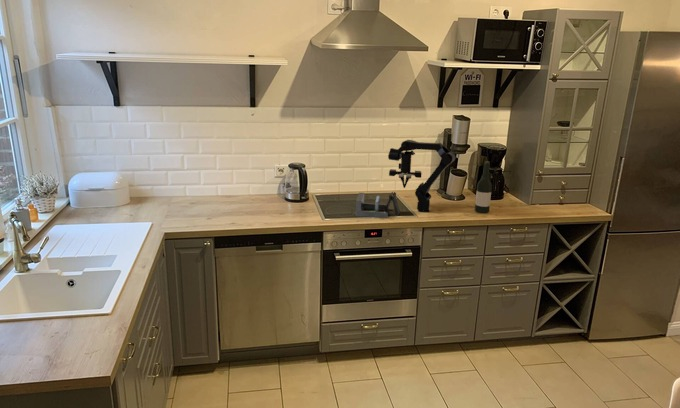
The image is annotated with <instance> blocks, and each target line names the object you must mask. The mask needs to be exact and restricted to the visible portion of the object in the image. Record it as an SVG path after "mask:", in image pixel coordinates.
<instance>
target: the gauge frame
mask: <svg viewBox="0 0 680 408" xmlns="http://www.w3.org/2000/svg"><path fill="white" fill-rule="evenodd" d="M386 205H387V204H384V203H379V211H376V213H375V203H371V202H365V193H364V192H359V193H358V194H357V197H356V200H355V212H354V213H355V217H366V218H379V219H388V217H389V215H388V212H384V210H385V207H386ZM364 209H367V210H364ZM368 209H369V210H368ZM388 211H390V208H389V209H388Z"/></svg>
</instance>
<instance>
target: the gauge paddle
mask: <svg viewBox="0 0 680 408" xmlns="http://www.w3.org/2000/svg"><path fill="white" fill-rule="evenodd" d="M375 198H376V199H375V203H374V204H375V209H374V211H375V213H376V211H378V212H380V210H379V204H380V195H377V196H376V197H375Z"/></svg>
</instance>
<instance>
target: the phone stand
mask: <svg viewBox="0 0 680 408" xmlns="http://www.w3.org/2000/svg"><path fill="white" fill-rule="evenodd" d="M391 202H392V203H391ZM391 204H392V205H393V208H394V210H393V211H392V210H390V206H391ZM388 209H389V210H388ZM383 212H388V216H399V215H400V214H401V211H400V207H399V203H398V201H397V193H396V192H395V191H392V192H391V193H390V194H389V196H388V201H387V205H386V207H385V210H383Z"/></svg>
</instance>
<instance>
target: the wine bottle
mask: <svg viewBox="0 0 680 408" xmlns="http://www.w3.org/2000/svg"><path fill="white" fill-rule="evenodd" d="M490 162H491V161H488V160H485V161H484V163H483V171H482V177H480V179H479V181H478V182H477V184H476V185H477V186H476V194H475V196H476V197H475V203H474V211H475V213H478V214H483V215H484V214H488V213H490V207H491V205H490V204H491V199H492V198H491V197H492V196H491V195H492V190H493V183H492V182H491V179H490V177H489V176H490V168H491V167H490V166H491V163H490Z"/></svg>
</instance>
